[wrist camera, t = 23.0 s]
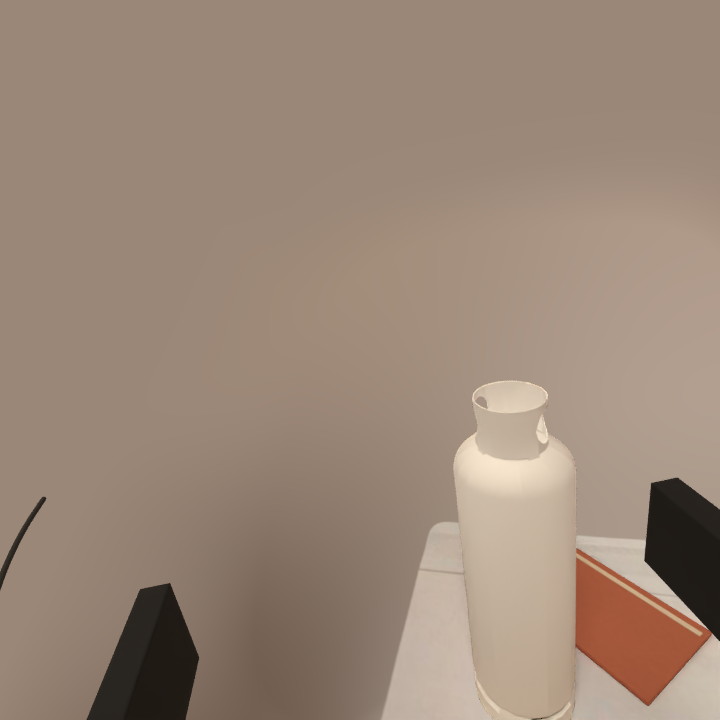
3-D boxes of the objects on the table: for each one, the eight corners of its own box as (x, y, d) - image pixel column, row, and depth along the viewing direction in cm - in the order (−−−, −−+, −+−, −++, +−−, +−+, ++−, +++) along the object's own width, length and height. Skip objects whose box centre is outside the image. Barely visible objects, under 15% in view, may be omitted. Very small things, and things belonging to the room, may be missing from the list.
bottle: (486, 631, 45) (463, 369, 35) (577, 658, 41) (580, 373, 32) (465, 715, 39) (430, 420, 29) (571, 756, 35) (572, 433, 25)
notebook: (511, 593, 49) (511, 590, 48) (572, 547, 53) (572, 544, 53) (648, 706, 37) (648, 702, 37) (711, 635, 41) (712, 631, 41)
